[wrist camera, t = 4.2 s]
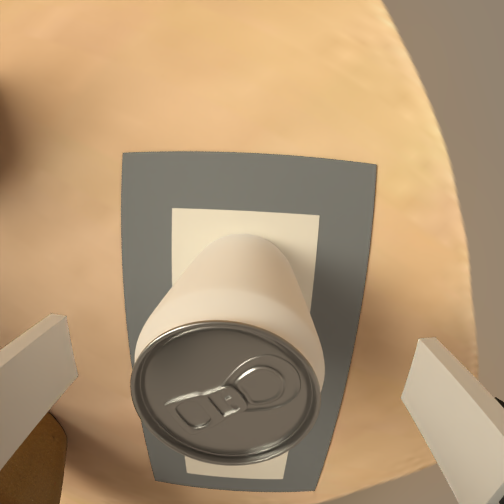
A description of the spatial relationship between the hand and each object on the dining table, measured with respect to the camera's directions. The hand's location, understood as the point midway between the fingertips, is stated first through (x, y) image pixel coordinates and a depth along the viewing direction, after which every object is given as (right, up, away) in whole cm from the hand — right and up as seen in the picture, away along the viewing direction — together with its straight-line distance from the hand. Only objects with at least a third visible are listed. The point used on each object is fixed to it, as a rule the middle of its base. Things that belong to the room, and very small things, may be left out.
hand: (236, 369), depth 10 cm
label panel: (0, -5, +11) cm, 12 cm away
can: (0, +2, +10) cm, 10 cm away
